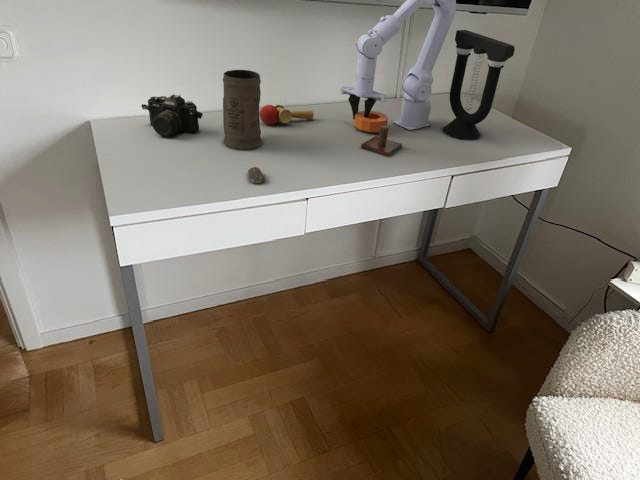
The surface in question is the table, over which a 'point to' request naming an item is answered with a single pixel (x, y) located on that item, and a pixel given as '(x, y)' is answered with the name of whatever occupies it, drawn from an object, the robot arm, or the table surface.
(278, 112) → the kendama
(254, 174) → the block
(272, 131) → the table surface
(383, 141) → the stand
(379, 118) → the ring
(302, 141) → the table surface
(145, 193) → the table surface
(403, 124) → the robot arm
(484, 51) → the spring support
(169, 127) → the film camera
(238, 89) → the beer stein
